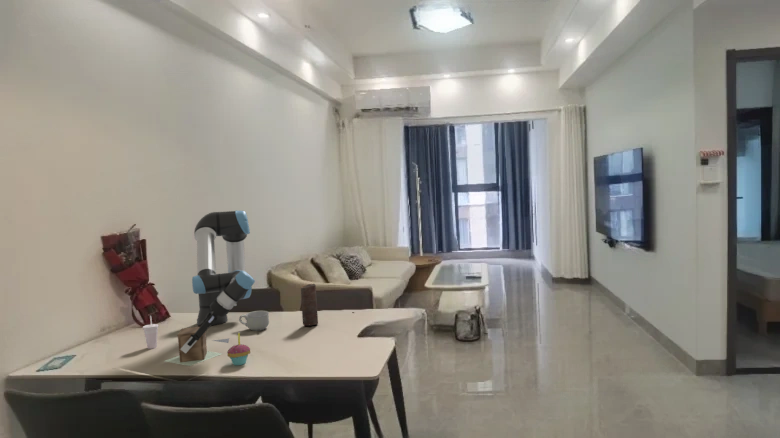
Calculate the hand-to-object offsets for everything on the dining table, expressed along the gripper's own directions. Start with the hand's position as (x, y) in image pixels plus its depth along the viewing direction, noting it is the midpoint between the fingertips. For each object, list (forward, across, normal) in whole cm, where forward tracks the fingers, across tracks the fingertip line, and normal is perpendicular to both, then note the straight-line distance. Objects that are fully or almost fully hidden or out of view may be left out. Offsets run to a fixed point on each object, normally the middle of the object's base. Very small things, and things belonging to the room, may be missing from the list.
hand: (185, 347), depth 207 cm
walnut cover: (+1, 0, -5) cm, 5 cm away
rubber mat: (-2, +18, -9) cm, 20 cm away
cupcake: (-11, -14, -19) cm, 26 cm away
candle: (-33, +32, -41) cm, 62 cm away
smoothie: (+16, +26, +9) cm, 32 cm away
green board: (+1, 0, -6) cm, 6 cm away
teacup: (-15, +37, -22) cm, 46 cm away
